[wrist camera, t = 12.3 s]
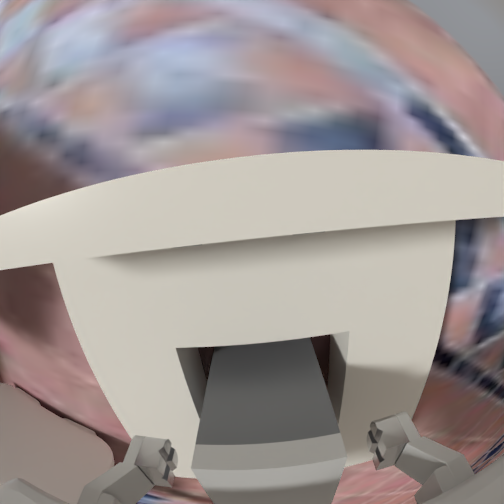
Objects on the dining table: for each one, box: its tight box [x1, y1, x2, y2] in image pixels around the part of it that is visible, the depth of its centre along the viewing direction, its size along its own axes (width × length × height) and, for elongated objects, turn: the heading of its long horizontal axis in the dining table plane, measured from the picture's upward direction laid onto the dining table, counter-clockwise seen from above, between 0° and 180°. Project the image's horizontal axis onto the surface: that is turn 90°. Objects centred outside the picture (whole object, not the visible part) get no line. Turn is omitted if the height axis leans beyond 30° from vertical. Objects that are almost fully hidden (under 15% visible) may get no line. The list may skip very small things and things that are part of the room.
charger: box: [191, 337, 347, 504], centre depth 10 cm, size 4×4×8 cm
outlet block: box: [0, 150, 504, 478], centre depth 10 cm, size 18×17×7 cm
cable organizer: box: [0, 383, 114, 504], centre depth 12 cm, size 15×11×12 cm
